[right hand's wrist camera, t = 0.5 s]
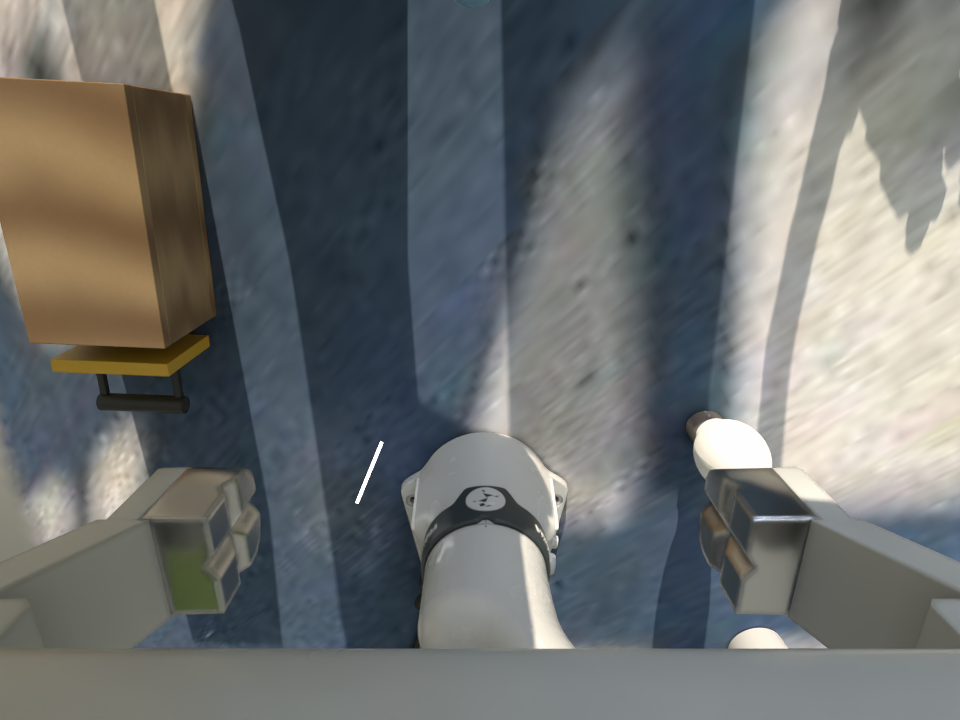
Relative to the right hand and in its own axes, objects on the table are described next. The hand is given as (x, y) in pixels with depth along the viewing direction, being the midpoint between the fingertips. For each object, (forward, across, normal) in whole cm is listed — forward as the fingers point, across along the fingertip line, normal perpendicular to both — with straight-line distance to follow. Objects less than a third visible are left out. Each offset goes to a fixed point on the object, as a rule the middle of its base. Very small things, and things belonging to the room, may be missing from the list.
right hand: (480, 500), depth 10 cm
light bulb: (+47, +25, -22) cm, 58 cm away
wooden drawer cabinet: (+47, -32, 0) cm, 57 cm away
